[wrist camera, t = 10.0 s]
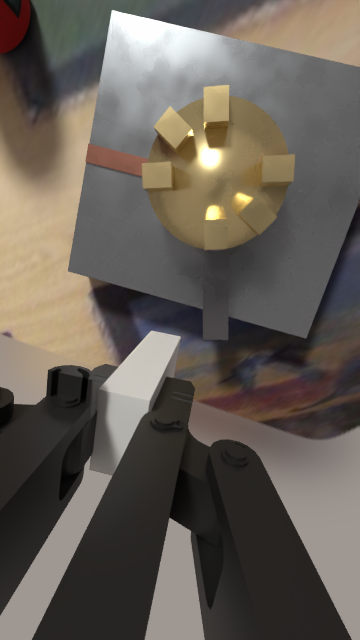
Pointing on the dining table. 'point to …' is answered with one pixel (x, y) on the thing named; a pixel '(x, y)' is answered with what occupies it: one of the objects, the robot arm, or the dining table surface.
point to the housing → (302, 194)
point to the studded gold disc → (217, 185)
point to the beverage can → (13, 23)
